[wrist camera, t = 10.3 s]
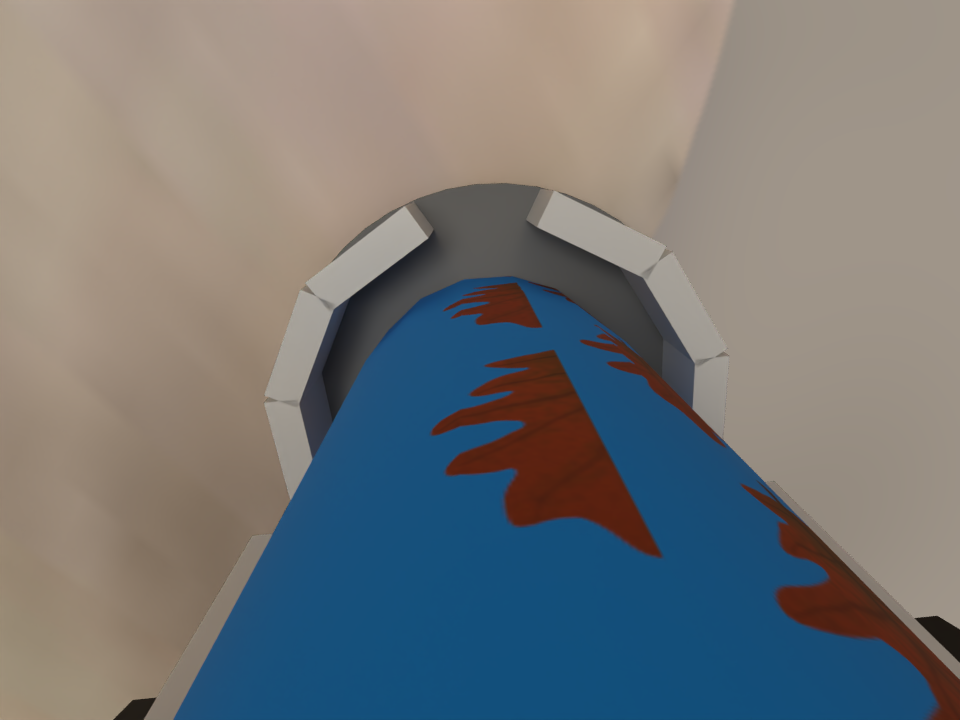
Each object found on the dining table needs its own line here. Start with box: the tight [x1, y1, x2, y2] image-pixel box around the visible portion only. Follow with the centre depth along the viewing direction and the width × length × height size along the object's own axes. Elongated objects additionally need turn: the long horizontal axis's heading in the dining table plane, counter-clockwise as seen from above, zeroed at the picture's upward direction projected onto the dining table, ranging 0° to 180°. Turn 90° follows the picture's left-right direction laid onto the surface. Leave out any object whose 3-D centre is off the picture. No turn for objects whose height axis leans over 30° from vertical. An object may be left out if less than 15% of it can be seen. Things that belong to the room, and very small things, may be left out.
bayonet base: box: [264, 183, 729, 501], centre depth 20 cm, size 17×17×4 cm
